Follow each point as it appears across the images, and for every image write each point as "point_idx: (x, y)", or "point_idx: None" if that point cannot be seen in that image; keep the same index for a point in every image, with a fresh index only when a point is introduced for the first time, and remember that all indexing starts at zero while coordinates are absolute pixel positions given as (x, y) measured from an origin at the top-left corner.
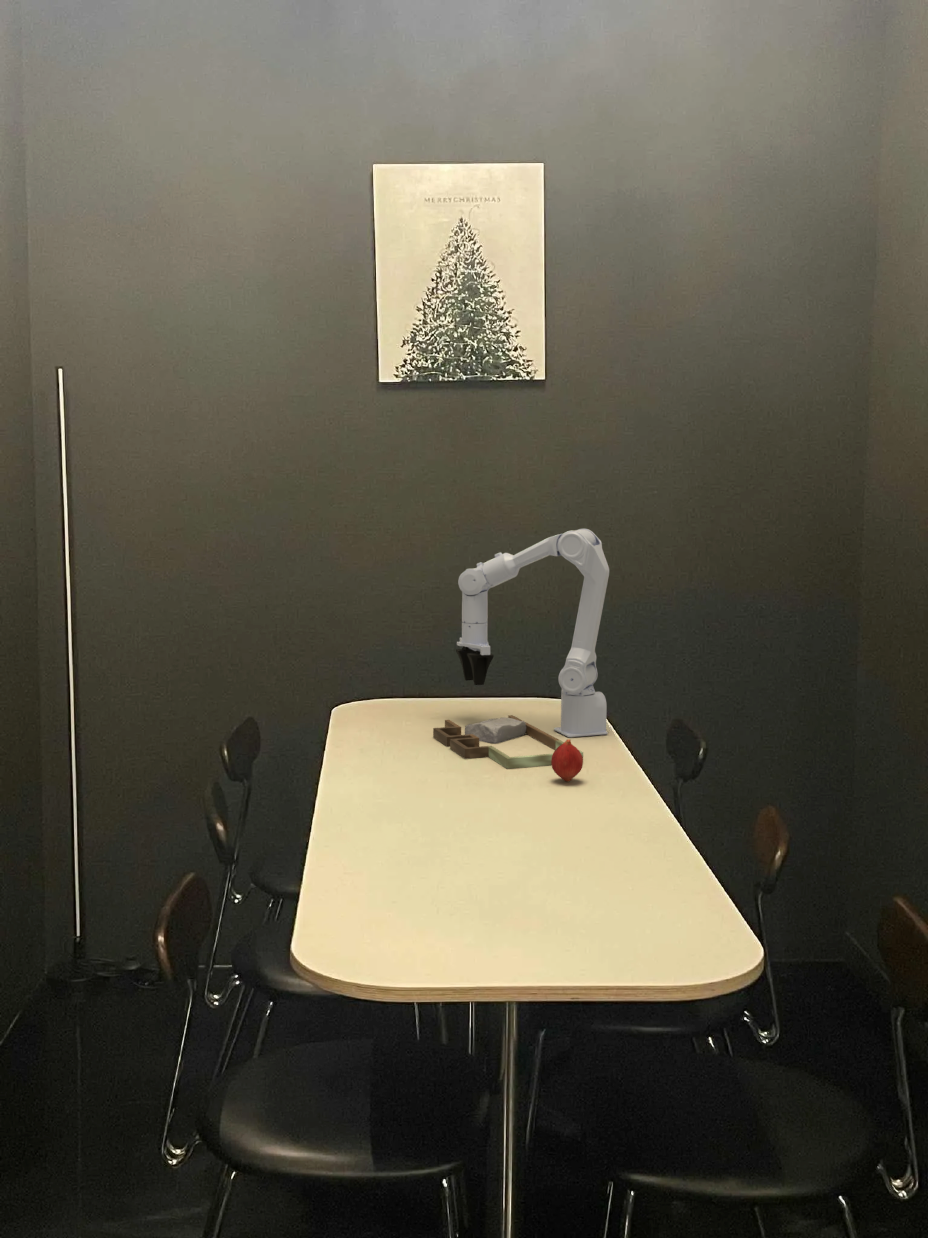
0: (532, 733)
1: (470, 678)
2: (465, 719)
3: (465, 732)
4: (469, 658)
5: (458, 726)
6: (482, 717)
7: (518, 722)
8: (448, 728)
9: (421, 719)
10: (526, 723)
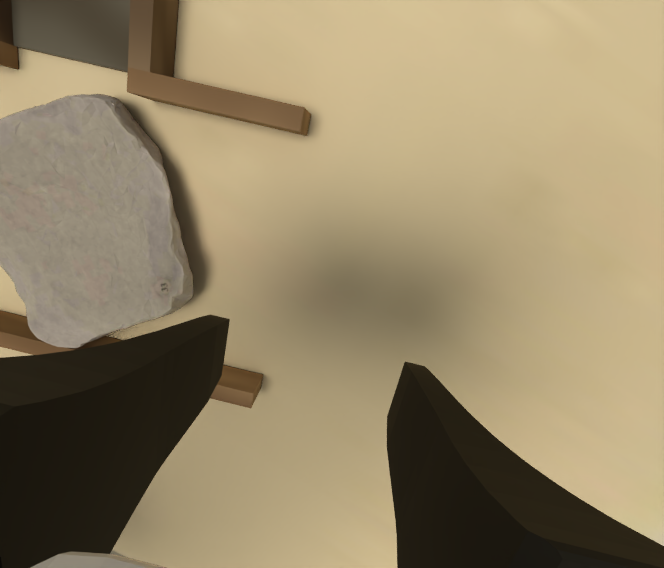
0: None
1: (396, 399)
2: (425, 297)
3: (103, 95)
4: (15, 385)
5: (143, 86)
6: None
7: (33, 312)
8: (131, 18)
9: (551, 127)
10: None
